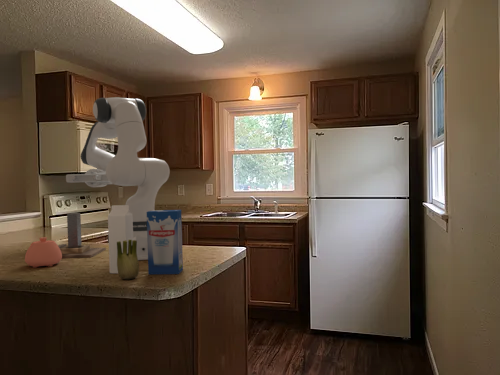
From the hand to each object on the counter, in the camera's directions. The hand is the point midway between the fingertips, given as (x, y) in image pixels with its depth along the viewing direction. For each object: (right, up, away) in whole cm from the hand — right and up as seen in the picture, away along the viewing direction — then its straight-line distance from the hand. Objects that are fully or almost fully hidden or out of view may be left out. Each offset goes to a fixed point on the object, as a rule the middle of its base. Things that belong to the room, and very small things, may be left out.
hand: (83, 177), depth 191 cm
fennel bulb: (+37, -32, -61) cm, 78 cm away
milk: (+32, -32, -50) cm, 67 cm away
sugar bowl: (-1, -33, -35) cm, 48 cm away
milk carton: (+47, -32, -52) cm, 77 cm away
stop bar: (+1, -31, -12) cm, 34 cm away
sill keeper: (+1, -32, -13) cm, 34 cm away
